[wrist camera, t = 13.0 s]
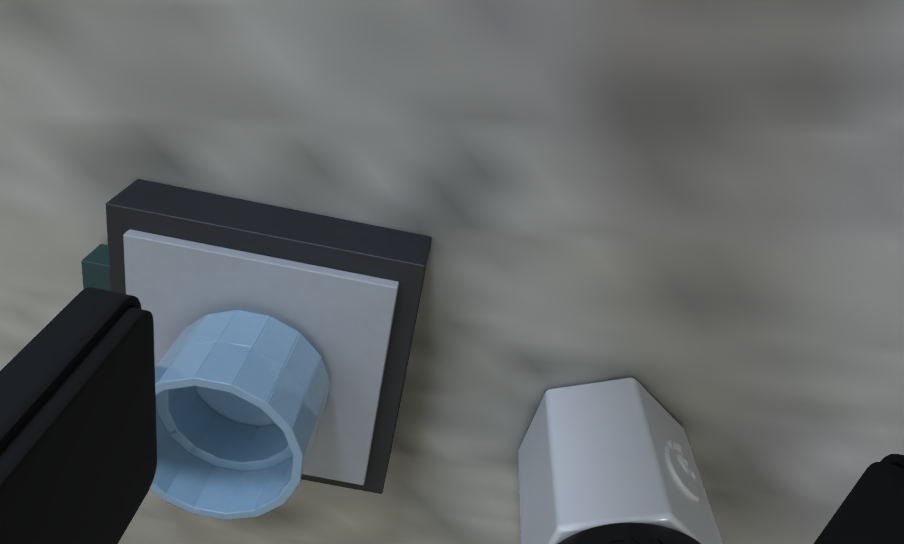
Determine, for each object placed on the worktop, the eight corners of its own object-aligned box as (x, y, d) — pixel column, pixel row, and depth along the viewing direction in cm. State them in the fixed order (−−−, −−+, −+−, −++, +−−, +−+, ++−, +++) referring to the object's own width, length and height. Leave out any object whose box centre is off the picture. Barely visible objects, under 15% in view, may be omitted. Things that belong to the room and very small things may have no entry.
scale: (102, 171, 33) (60, 201, 30) (431, 236, 33) (424, 272, 30) (116, 403, 39) (82, 448, 36) (390, 454, 40) (380, 503, 37)
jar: (711, 449, 38) (791, 661, 27) (591, 517, 41) (621, 732, 30) (609, 345, 35) (655, 535, 25) (488, 426, 38) (483, 627, 28)
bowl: (175, 290, 31) (115, 362, 26) (339, 322, 31) (309, 399, 27) (176, 417, 35) (123, 501, 30) (323, 444, 35) (294, 532, 30)
